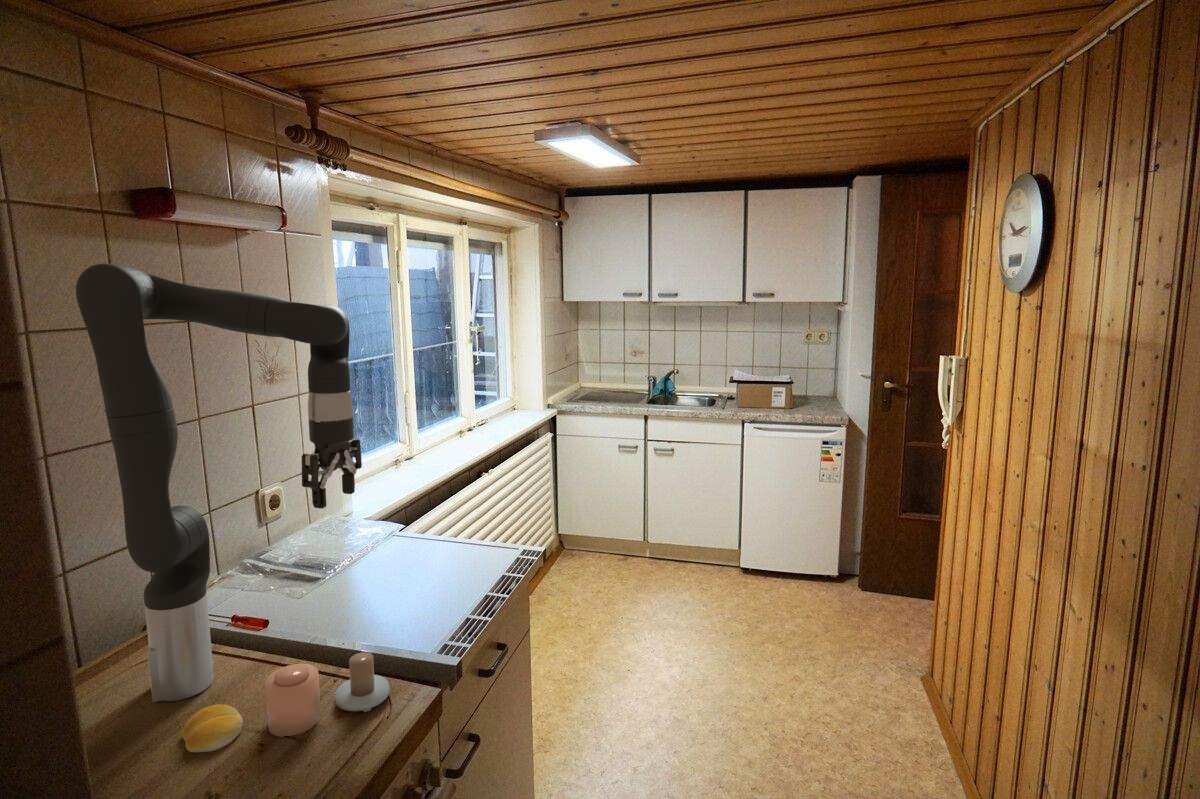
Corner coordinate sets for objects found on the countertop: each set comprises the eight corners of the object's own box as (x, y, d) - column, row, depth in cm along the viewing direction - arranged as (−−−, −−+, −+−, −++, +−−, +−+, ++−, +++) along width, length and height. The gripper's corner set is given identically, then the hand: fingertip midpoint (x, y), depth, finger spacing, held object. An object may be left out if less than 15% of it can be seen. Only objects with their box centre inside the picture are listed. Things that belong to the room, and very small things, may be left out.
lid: (340, 722, 107) (338, 679, 106) (331, 693, 115) (329, 653, 113) (395, 705, 112) (393, 664, 110) (382, 679, 119) (381, 639, 118)
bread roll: (189, 763, 98) (187, 740, 97) (180, 732, 104) (178, 710, 104) (249, 739, 103) (247, 717, 102) (237, 711, 110) (235, 690, 109)
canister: (270, 743, 102) (267, 693, 100) (266, 714, 109) (262, 667, 107) (324, 726, 106) (321, 678, 105) (316, 700, 113) (314, 654, 111)
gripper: (337, 407, 124) (340, 487, 126) (285, 421, 110) (290, 510, 113) (371, 410, 122) (374, 491, 125) (323, 424, 108) (328, 515, 111)
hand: (334, 500), depth 119 cm, fingers open, 8 cm apart
